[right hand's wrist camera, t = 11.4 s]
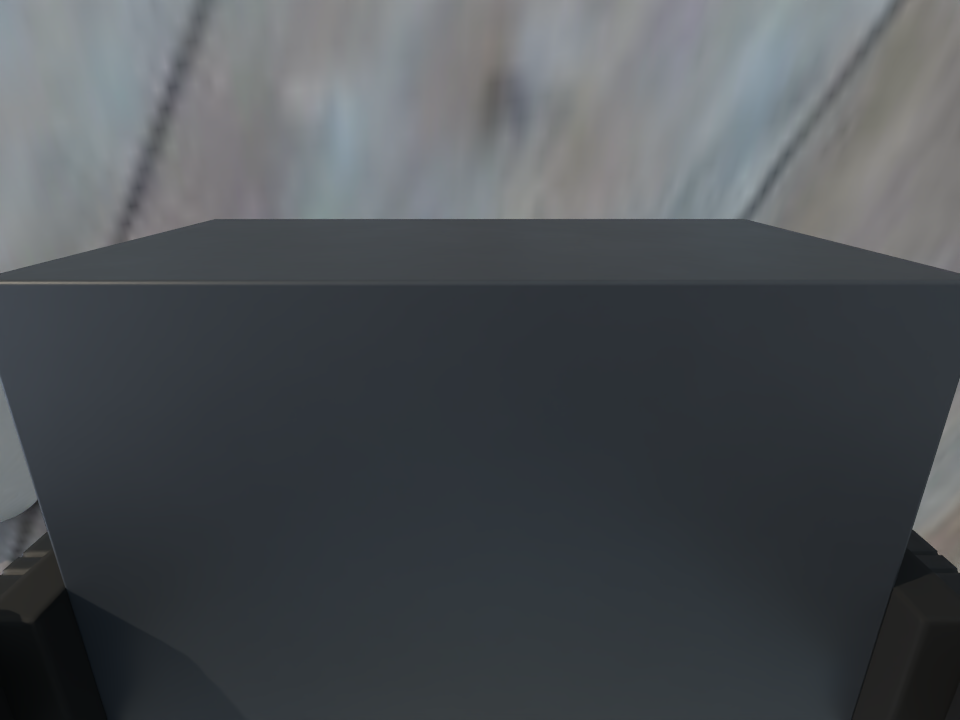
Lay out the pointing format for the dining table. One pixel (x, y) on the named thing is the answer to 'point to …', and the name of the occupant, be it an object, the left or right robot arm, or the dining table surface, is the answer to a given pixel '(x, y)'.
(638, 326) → the dark gray block
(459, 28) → the dining table surface
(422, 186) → the dining table surface
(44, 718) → the right robot arm
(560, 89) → the dining table surface
